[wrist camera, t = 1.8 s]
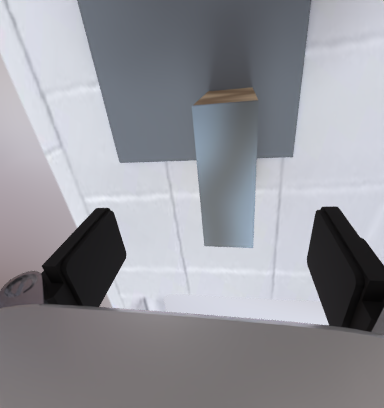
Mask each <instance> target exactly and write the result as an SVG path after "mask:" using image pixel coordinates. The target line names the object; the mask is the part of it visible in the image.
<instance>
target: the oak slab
mask: <svg viewBox="0 0 384 408" xmlns="http://www.w3.org/2000/svg"><path fill="white" fill-rule="evenodd" d="M258 107H259V101H258V98H257V96H256V94H255V92H254V90H253V87H251V88H240V89H229V90H218V91H208V92H207V93H206V94H205V95H204V96H203V97H202V98H200V99H199V100H198V101H197V102H196V103H195V104H194V105H193V106H192V116H193V127H194V138H195V148H196V159H197V170H198V181H199V192H200V203H201V213H202V224H203V235H204V246H215V247H241V248H253V238H254V212H255V186H256V160H257V134H258Z"/></svg>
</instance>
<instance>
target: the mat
mask: <svg viewBox="0 0 384 408" xmlns="http://www.w3.org/2000/svg"><path fill="white" fill-rule="evenodd" d="M77 1H78V5H79V9H80V12H81V16H82V20H83V24H84V28H85V32H86V35H87V39H88V43H89V47H90V51H91V55H92V58H93V62H94V66H95V70H96V74H97V77H98V81H99V85H100V89H101V93H102V97H103V100H104V104H105V108H106V112H107V116H108V120H109V123H110V127H111V131H112V135H113V139H114V143H115V146H116V150H117V154H118V158H119V162H120V163H128V162H158V161H188V160H197V159H196V148H195V138H194V127H193V116H192V106H193V105H194V104H195V103H196V102H197V101H198V100H199V99H200V98H202V97H203V96H204V95H205V94H206V93H207V92H208V91H218V90H229V89H240V88H251V87H253V90H254V92H255V94H256V96H257V98H258V101H259V107H258V134H257V158H276V157H293V151H294V142H295V134H296V125H297V116H298V108H299V99H300V91H301V82H302V74H303V65H304V56H305V48H306V39H307V31H308V22H309V14H310V5H311V0H77Z"/></svg>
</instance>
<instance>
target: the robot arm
mask: <svg viewBox="0 0 384 408" xmlns="http://www.w3.org/2000/svg"><path fill="white" fill-rule="evenodd" d="M125 259H126V250H125V247H124V244H123V241H122V238H121V234H120V231H119V228H118V225H117V221H116V218H115V215H114V212H113V211H111V210H110V209H109V208H96V209H95V210H94V211H93V212H92V213H91V214H90V215H89V216H88V218H87V219H86V220H85V221H84V222H83V223H82V224H81V225H80V226H79V227H78V228H77V229H76V230H75V231H74V233H72V235H71V236H70V237H69V238H68V239H67V240H66V241H65V242H64V243H63V244H62V245H61V246H60V247H59V248H58V249H57V250H56V251H55V252H54V254H53V255H52V256H51V257H50V258H49V259H48V260H47V261H46V262H45V263H44V264H43V265H42V267H43V269H44V271H43V272H42V273H39V272H37V271H29V272H25V273H22V274H20V275H18V276H16V277H14V278H13V279H11V280H9V281H8V282H7V283H6V284H5V285H4V286H3V288H2V289H1V291H0V408H384V265H383V264H382V263H381V261H380V260H379V259H378V257H377V256H376V254H375V253H374V252H373V250H372V249H371V248H370V246H369V245H368V244H367V242H366V241H365V240H364V239H362V238H360V237H359V235H358V234H357V233H356V231H355V230H354V228H353V227H352V226H351V224H350V223H349V221H348V220H347V219H346V217H345V216H344V215H343V213H342V212H341V210H340V209H339V208H338V207H322V208H321V210H317V211H316V214H315V219H314V224H313V229H312V235H311V240H310V245H309V251H308V256H307V264H308V268H309V270H310V273H311V276H312V279H313V281H314V284H315V287H316V290H317V293H318V295H319V298H320V301H321V303H322V306H323V309H324V312H325V315H326V317H327V320H328V323H329V325H318V324H307V323H298V322H287V321H276V320H264V319H251V318H239V317H238V318H237V317H227V316H214V315H201V314H188V313H175V312H162V311H148V310H135V309H120V308H106V307H99V306H100V304H101V302H102V301H103V299H104V297H105V295H106V293H107V291H108V290H109V288H110V286H111V284H112V282H113V281H114V279H115V277H116V275H117V273H118V272H119V270H120V268H121V266H122V264H123V262H124V261H125Z"/></svg>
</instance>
